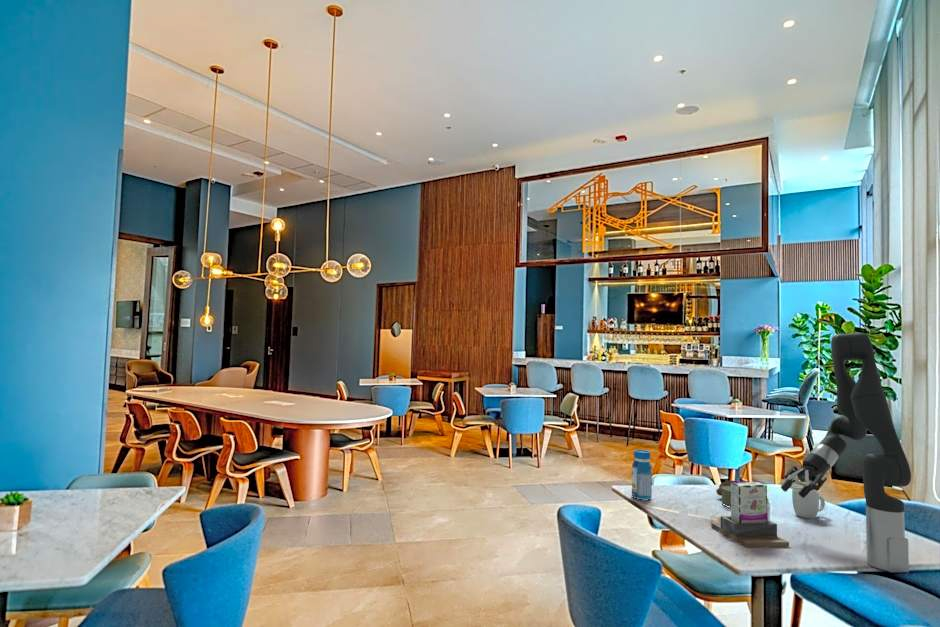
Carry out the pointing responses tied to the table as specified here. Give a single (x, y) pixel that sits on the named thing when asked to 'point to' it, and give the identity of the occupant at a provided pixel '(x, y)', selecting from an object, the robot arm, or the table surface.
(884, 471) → the robot arm
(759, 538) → the display stand
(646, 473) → the beverage bottle
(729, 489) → the dark grey bowl
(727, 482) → the decorative turtle
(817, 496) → the mug
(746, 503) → the candy bar box
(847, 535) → the table surface
